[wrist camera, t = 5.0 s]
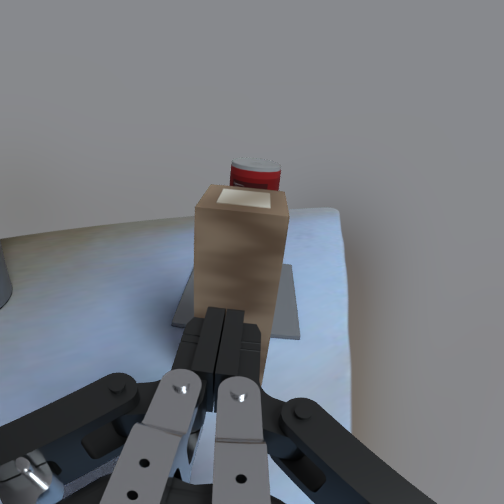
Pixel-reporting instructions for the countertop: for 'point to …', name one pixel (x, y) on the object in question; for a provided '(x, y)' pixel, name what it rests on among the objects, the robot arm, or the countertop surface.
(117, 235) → the countertop surface
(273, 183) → the canned food
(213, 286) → the walnut block
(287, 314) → the rubber mat
